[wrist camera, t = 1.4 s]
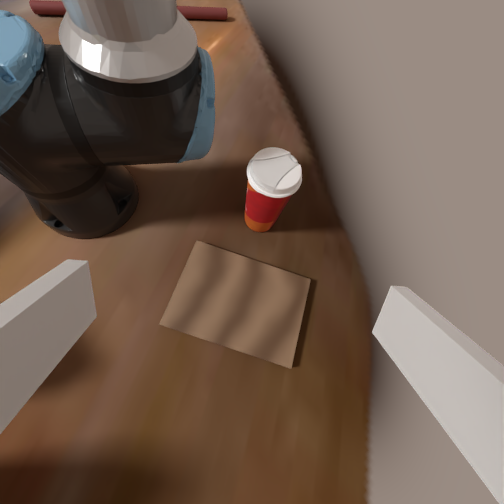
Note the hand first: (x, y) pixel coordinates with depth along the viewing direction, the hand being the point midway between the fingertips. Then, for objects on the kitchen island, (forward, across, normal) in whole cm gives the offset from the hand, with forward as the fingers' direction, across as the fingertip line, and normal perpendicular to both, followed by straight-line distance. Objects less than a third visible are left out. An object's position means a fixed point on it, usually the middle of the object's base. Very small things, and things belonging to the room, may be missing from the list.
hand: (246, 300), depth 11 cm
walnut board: (+23, +2, -16) cm, 28 cm away
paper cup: (+34, +4, -5) cm, 35 cm away
